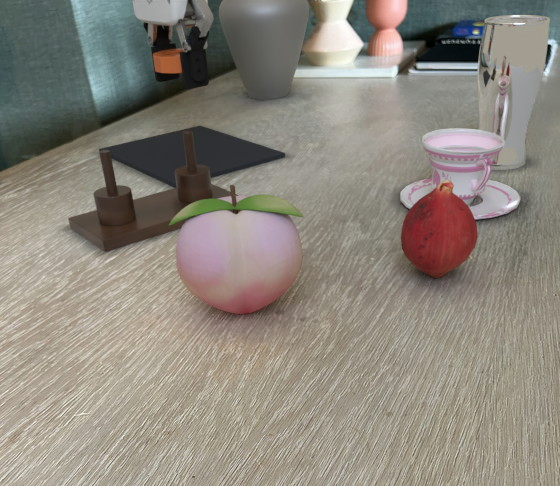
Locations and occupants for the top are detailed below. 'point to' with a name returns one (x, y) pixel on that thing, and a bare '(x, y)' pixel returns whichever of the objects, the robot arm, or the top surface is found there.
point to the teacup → (464, 171)
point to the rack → (143, 204)
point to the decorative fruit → (238, 250)
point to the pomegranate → (438, 231)
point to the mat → (208, 151)
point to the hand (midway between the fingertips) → (181, 81)
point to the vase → (265, 42)
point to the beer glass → (510, 80)
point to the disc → (168, 61)
